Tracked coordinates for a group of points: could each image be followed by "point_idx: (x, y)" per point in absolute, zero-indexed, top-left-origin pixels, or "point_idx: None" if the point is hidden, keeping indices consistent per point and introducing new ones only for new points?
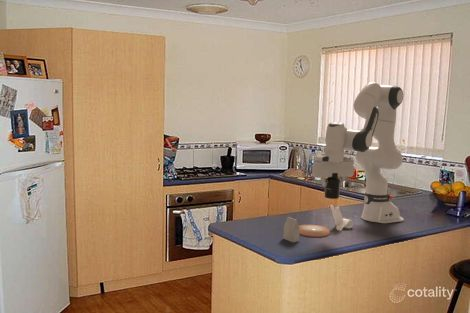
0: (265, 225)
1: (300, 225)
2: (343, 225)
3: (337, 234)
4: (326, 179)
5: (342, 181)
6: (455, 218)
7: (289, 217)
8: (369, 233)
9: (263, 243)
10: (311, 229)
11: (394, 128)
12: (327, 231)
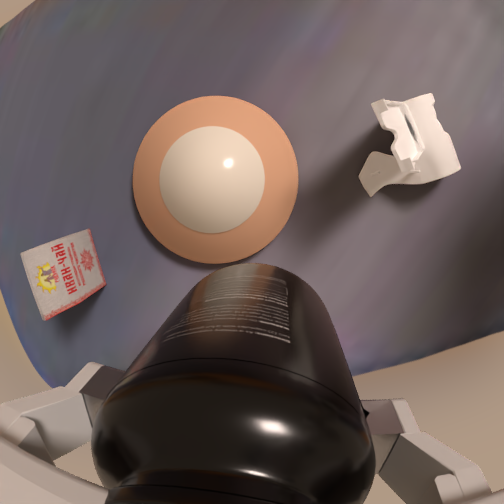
0: (75, 52)
1: (181, 104)
2: (399, 178)
3: (314, 247)
4: (94, 462)
5: (398, 489)
6: None
7: (25, 266)
8: (455, 273)
9: (12, 267)
10: (196, 190)
11: None
12: (262, 238)
